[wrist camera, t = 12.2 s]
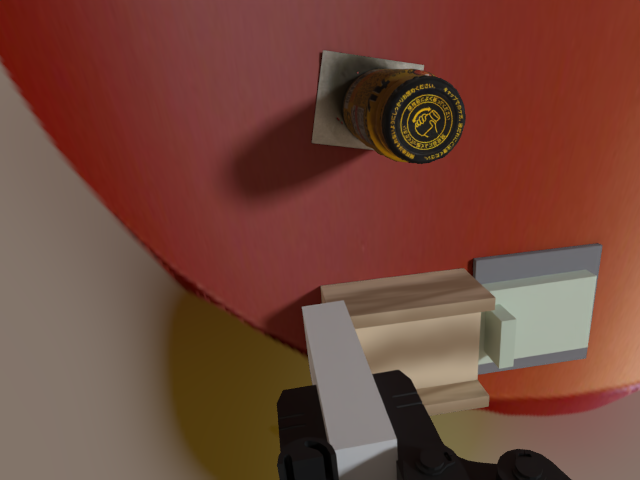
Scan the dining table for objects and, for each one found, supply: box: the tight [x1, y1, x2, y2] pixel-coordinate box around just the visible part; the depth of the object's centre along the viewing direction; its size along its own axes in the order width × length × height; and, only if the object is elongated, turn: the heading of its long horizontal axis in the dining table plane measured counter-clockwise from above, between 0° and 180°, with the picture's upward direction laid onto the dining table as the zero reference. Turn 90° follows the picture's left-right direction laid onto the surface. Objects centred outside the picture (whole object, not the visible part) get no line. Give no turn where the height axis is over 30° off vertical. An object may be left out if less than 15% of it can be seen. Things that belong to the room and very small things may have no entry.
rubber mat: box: [473, 243, 602, 374], centre depth 48 cm, size 13×13×1 cm
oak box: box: [321, 268, 496, 416], centre depth 44 cm, size 11×14×6 cm
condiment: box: [312, 50, 466, 164], centre depth 34 cm, size 7×8×12 cm
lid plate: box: [478, 270, 597, 369], centre depth 46 cm, size 8×12×5 cm, turn 95°
